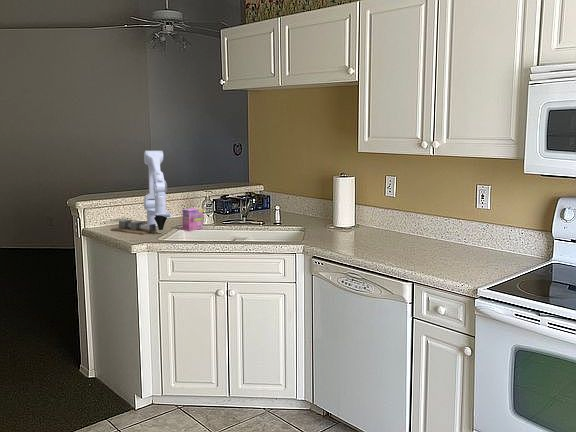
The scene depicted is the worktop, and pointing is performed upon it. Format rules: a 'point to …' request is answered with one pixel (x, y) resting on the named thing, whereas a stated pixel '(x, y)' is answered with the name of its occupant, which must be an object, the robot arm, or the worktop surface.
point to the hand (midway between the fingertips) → (160, 229)
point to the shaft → (145, 226)
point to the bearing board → (144, 231)
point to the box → (192, 219)
